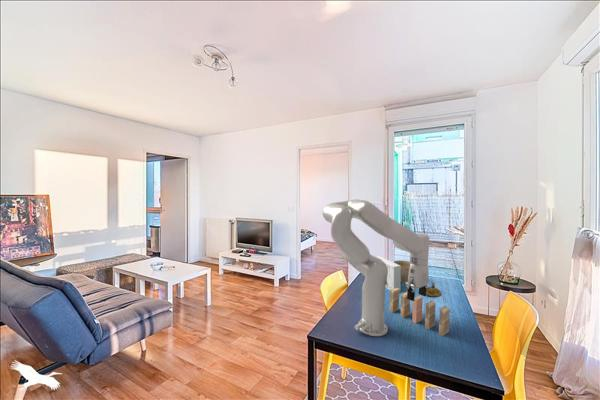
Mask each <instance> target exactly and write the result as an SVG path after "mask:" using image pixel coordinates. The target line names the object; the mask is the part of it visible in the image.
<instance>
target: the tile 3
mask: <svg viewBox="0 0 600 400" xmlns="http://www.w3.org/2000/svg"><path fill="white" fill-rule="evenodd" d="M436 303H437V302H436V301H433V300H430V301H428V302H426V303H425V311H424V312H425V314H424V315H425V317H424V321H425V322H424V328H425V329H427V330H431V329H432V328H433V327H435V325H436Z"/></svg>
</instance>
